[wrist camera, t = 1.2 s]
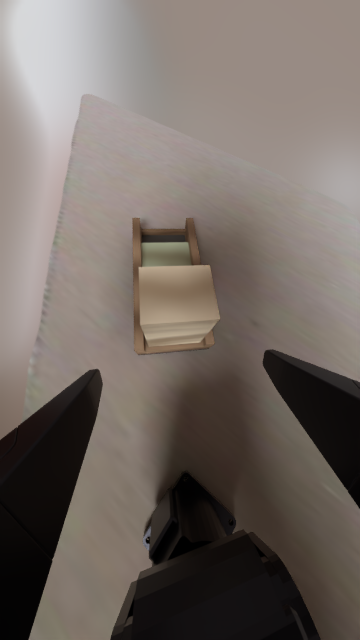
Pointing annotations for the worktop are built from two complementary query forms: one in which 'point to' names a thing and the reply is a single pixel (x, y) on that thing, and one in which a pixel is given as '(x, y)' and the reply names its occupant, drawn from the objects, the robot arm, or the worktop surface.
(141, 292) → the block
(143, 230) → the track
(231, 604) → the robot arm
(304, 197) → the worktop surface
